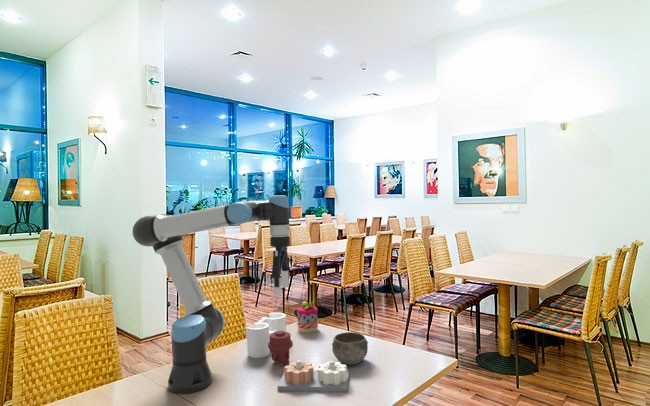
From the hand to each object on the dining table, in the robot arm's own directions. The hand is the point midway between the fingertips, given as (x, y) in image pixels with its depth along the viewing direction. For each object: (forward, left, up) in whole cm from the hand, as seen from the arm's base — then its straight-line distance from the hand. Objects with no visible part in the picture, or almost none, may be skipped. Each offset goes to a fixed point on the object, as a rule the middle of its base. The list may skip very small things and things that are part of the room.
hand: (281, 291), depth 154 cm
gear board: (+13, -9, -31) cm, 35 cm away
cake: (+2, +48, -31) cm, 57 cm away
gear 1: (+8, -9, -29) cm, 31 cm away
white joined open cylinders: (-12, +25, -31) cm, 41 cm away
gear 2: (+20, -9, -29) cm, 36 cm away
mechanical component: (-3, +8, -31) cm, 32 cm away
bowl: (+25, +10, -31) cm, 41 cm away
